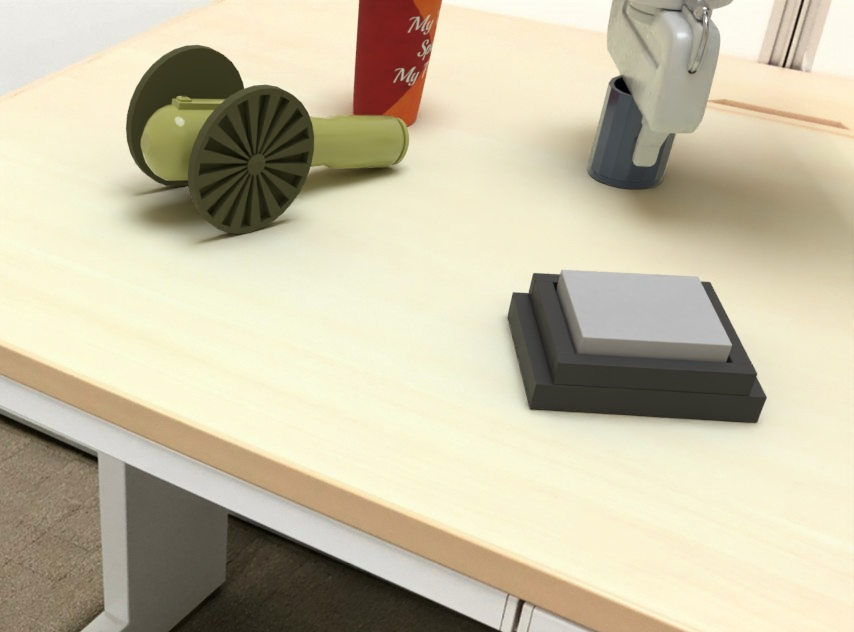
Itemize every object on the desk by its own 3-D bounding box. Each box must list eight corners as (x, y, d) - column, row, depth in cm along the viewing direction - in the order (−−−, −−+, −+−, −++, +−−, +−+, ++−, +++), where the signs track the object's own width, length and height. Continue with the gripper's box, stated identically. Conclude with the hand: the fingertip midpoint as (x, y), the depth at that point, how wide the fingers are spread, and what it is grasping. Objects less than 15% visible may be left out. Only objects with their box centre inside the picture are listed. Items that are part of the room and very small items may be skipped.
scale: (710, 326, 87) (726, 281, 85) (757, 422, 78) (776, 375, 76) (507, 315, 89) (517, 271, 86) (529, 409, 80) (541, 361, 77)
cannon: (354, 139, 113) (369, 9, 106) (437, 188, 105) (460, 50, 98) (109, 195, 104) (108, 57, 97) (180, 253, 96) (184, 107, 89)
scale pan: (690, 299, 85) (698, 276, 83) (724, 369, 78) (732, 345, 77) (555, 292, 85) (561, 269, 84) (576, 360, 79) (583, 336, 77)
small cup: (654, 161, 109) (679, 74, 104) (670, 190, 104) (696, 101, 100) (582, 158, 110) (603, 72, 105) (594, 187, 105) (617, 98, 100)
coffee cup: (420, 138, 113) (448, -38, 103) (331, 126, 115) (350, -47, 106) (435, 106, 119) (463, -64, 109) (350, 95, 121) (370, -72, 112)
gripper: (758, 14, 88) (699, 198, 97) (692, -63, 104) (646, 102, 113) (666, 11, 89) (616, 194, 98) (614, -65, 104) (575, 99, 113)
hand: (632, 144), depth 105 cm, fingers closed on small cup, 6 cm apart
